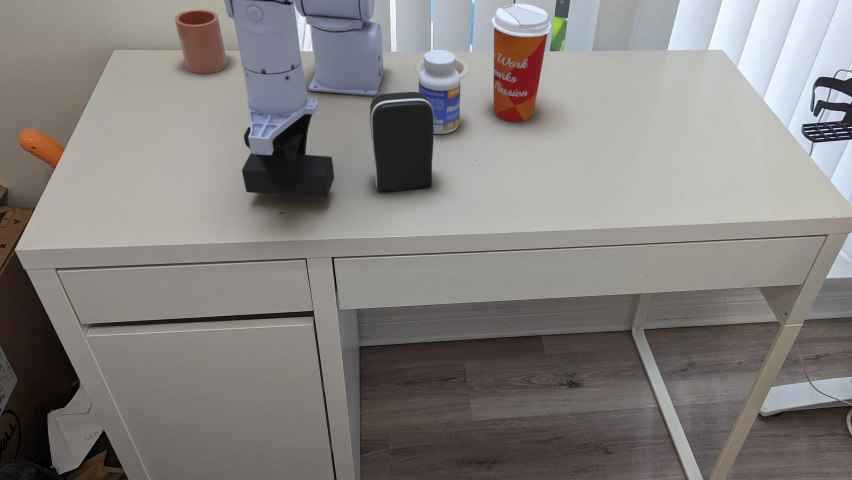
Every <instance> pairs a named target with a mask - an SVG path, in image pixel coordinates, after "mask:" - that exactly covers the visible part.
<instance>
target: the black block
mask: <svg viewBox="0 0 852 480" xmlns="http://www.w3.org/2000/svg"><path fill="white" fill-rule="evenodd" d="M241 173H242V174H241V175H242V178H243V184H244V188H245V192H246V193H251V194H265V195H276V196H277V195H278V196H290V197H301V198H302V197H303V198H314V199H328V197H329V194H330V191H331V188H332V185H333V183H334V180H335V173H334V164H333V156H330V155H329V156H328V155H315V154H305V155H304V154H296V176H295V183H294V187H293V189H284V188H275V187H274V185H273V184H272V182H271V180H270V178H269V176H268V174H267V172H266V170H265V168H264V166H263V164H262V163H261V161H260V160H259V158H258V157H257V156H256V155H255V154H251V153H250V154H249V156H248V158H247V159H246V161H245V163H244V164H243V167H242V169H241Z"/></svg>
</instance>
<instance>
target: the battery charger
mask: <svg viewBox="0 0 852 480" xmlns="http://www.w3.org/2000/svg"><path fill="white" fill-rule="evenodd" d="M369 117H370V118H369V119H370V120H369V121H370V137H371V142H372V151H373V152H372V153H373V160H374V168H375V169H374V170H375V187H376V189H377V191H379V192H391V191H392V192H393V191H402V190H403V191H404V190H412V189H420V188H426V187H431V186H432V185H433V156H434V139H435V138H434V137H435V136H434V135H435V133H434V115H433V109H432V106H431V104H430V103H429V101H428V99H427V98H426V96H425V95H424V94H422V93H420V92H419V91H401V92H389V93H381V94H378V95H375V96H374V97H373V99H372V100H371V103H370V107H369Z"/></svg>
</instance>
